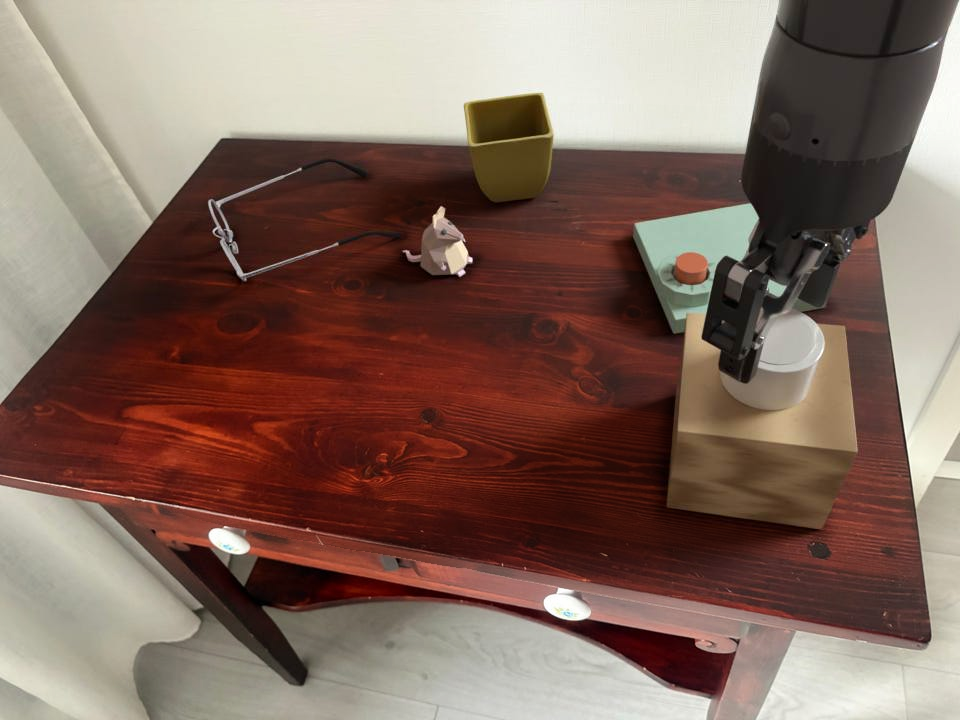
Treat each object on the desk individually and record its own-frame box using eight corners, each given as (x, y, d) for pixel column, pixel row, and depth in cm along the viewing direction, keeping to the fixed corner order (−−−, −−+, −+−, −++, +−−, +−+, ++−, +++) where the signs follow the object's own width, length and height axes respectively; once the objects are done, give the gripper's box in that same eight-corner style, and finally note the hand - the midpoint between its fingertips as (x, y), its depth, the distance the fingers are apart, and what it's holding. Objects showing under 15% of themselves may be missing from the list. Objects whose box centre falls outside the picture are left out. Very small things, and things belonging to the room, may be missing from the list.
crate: (814, 409, 61) (845, 325, 54) (821, 529, 54) (858, 452, 47) (675, 394, 64) (686, 312, 56) (666, 507, 57) (677, 430, 50)
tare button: (710, 282, 68) (712, 270, 67) (679, 288, 68) (681, 275, 67) (700, 262, 70) (701, 249, 68) (670, 267, 70) (671, 255, 68)
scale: (825, 308, 68) (834, 279, 66) (669, 335, 68) (672, 307, 66) (766, 214, 78) (772, 186, 75) (629, 238, 78) (631, 210, 75)
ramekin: (828, 372, 51) (843, 331, 48) (780, 426, 49) (792, 387, 46) (751, 331, 54) (760, 290, 51) (701, 379, 52) (708, 340, 49)
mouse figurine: (414, 237, 82) (402, 185, 77) (479, 252, 79) (472, 200, 74) (390, 267, 79) (376, 216, 74) (457, 285, 76) (447, 233, 71)
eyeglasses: (214, 221, 88) (197, 186, 84) (364, 170, 91) (354, 134, 87) (240, 305, 78) (222, 269, 74) (408, 244, 81) (399, 206, 77)
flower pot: (547, 160, 88) (543, 90, 81) (557, 206, 82) (554, 134, 76) (473, 171, 88) (463, 101, 82) (478, 217, 83) (467, 146, 76)
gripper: (831, 214, 32) (763, 435, 44) (981, 69, 37) (884, 301, 50) (681, 152, 36) (658, 371, 48) (838, 30, 41) (781, 253, 53)
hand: (773, 335), depth 49 cm, fingers open, 8 cm apart
